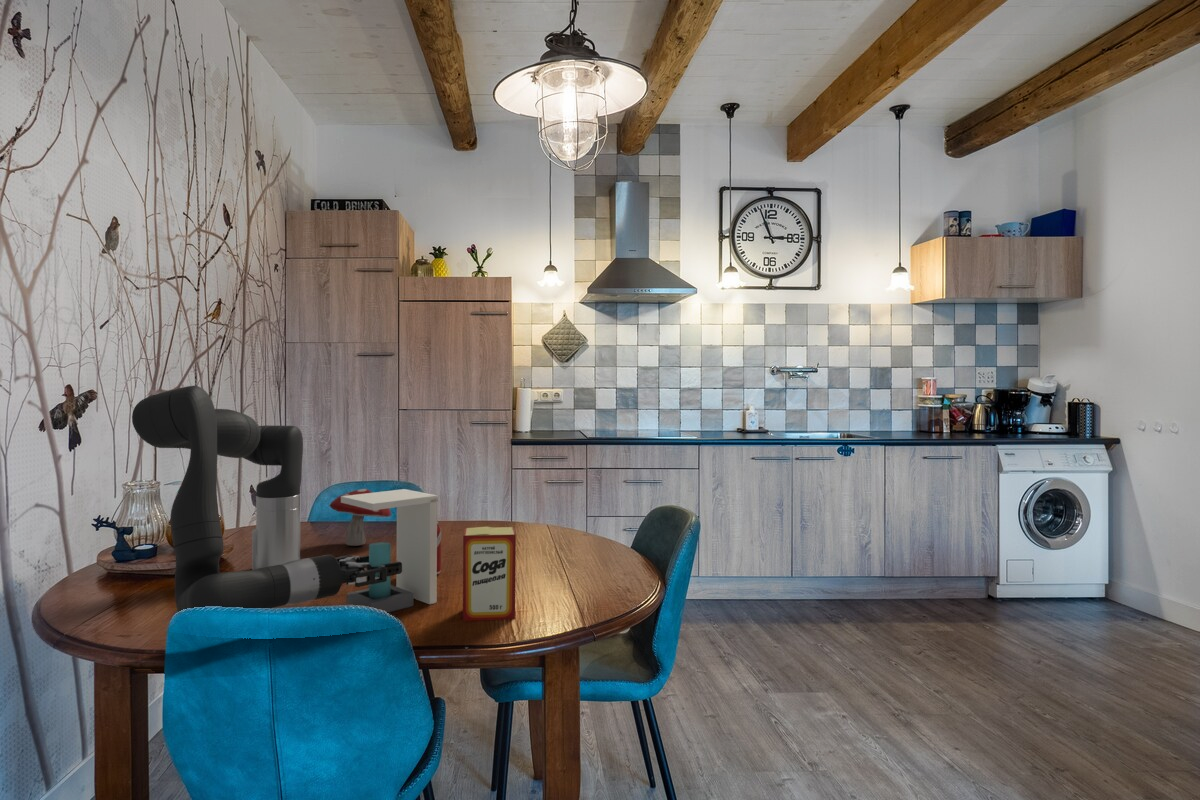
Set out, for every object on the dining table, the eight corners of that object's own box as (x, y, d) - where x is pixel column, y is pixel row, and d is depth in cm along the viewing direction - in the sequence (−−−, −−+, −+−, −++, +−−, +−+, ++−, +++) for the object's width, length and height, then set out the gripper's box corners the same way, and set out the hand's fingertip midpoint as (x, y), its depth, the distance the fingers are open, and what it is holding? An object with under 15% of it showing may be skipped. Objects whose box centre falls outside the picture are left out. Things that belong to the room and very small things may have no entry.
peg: (365, 609, 133) (365, 546, 132) (374, 602, 137) (374, 542, 136) (385, 610, 132) (385, 547, 132) (393, 603, 136) (394, 542, 136)
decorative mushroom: (346, 537, 194) (346, 484, 194) (400, 539, 193) (401, 485, 192) (317, 550, 179) (317, 492, 178) (376, 553, 177) (376, 494, 177)
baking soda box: (513, 607, 134) (514, 525, 134) (515, 618, 128) (515, 532, 128) (463, 609, 133) (464, 526, 133) (462, 621, 126) (463, 533, 126)
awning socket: (372, 619, 127) (373, 503, 126) (340, 605, 135) (340, 496, 134) (437, 602, 137) (438, 495, 137) (403, 590, 145) (404, 489, 145)
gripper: (326, 565, 119) (409, 550, 131) (290, 552, 128) (370, 538, 140) (326, 609, 119) (409, 589, 131) (289, 592, 129) (370, 575, 141)
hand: (389, 563), depth 136 cm, fingers open, 8 cm apart
